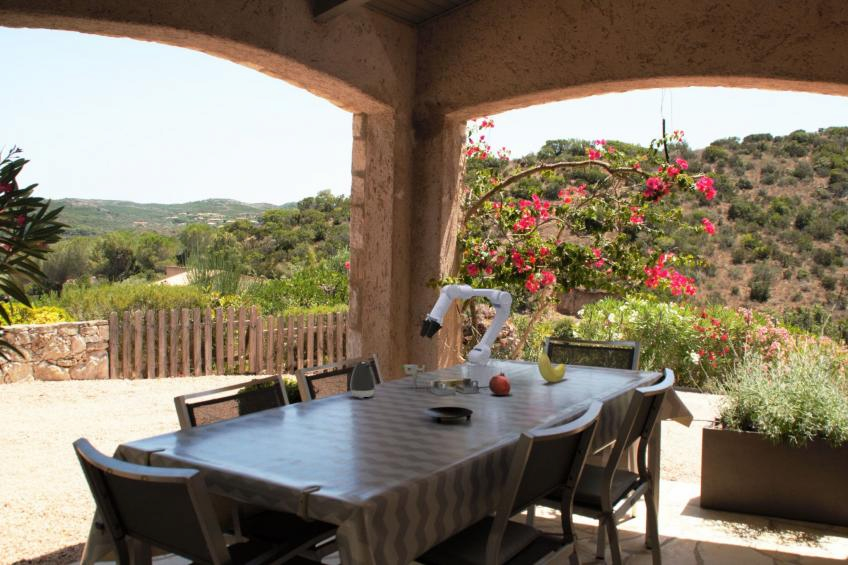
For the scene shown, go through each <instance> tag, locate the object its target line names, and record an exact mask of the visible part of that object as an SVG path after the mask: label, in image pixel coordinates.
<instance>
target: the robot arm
mask: <svg viewBox="0 0 848 565" xmlns="http://www.w3.org/2000/svg"><path fill="white" fill-rule="evenodd" d="M440 293H441V294H440V296H439V298H438V299H437V301H436V302H435V305H434V307H433V309H432V310H431V312H430V313H427V314H426V316H427V317H426V318H425V319H424V318H423V319H422V320H421V321H422V324H421V328H420V333H419V336H420V337H422V338H425V337H426V338H428V339H430V340H431V339H432V338H433V336H434V335H436V334H437V332H438V331H440V330H441V329H443V326H442V324H443V322H444V320H443V319H444V317H445V315H446V313H447V312H448V310H449V308H450V306H451V304H452V303H453V301H454V300H455V299H462V300H463V299H464V300H465V299H466V300H470V299H471V298H472V297H485V298H486V299H487V300H489V301H490V304H491V305H492V306H493V308H494V309H495V312H496V314H495V315H494V317H493V319H492V320H491V322H490V324H489V326H488V328H487V330H486V331H485V333H484V335H483V337H482V338H481V340H480V342H479V343H478V344H476V345H475V346H473V349H471V350H470V351H469V352H468V354H467V360H468V362H469V363H470V364H469V366H470V367H469V369H470V372H469V373H470V374H469V376H470V377H469V378H471V381H473V380H476V381H478V387H479V388H482V387H483V388H485V387H486V388H487V387H489V382H490V380H491V378H492V377H493V369H492V366H491V365H488V363H489V362H490V357H491V355H492V352H491V351H492V350H491V349H492V346H493V345H494V343H495V341H496V339H497V337H498V336H499V334H500V333H501V330H502V329H503V327H504V326H505V324H506V322H507V321H508V319H509V317H510V314H511V305H512V303H513V299H512V298H513V297H512V295H511V293H509V292H508V291H502V290H500V289H499V290H498V289H493V288H473V287H472V286H471V285H469V284H466V283H465V284H463V285H458V284H457V283H456V284H454V285H453V284H447V285H444V286H443V287H441V290H440Z"/></svg>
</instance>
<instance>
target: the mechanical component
mask: <svg viewBox="0 0 848 565" xmlns="http://www.w3.org/2000/svg"><path fill="white" fill-rule="evenodd" d="M409 368H410V370H409ZM402 370H404V373H405V374H406V375H411V378H412V388H413V389H417V380H418V375H423V374H424V373H425V370H427V365H424V364H422V367H421V368H420V367H419V364H404V365H402ZM419 371H422V372H419Z"/></svg>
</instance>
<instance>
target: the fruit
mask: <svg viewBox="0 0 848 565" xmlns="http://www.w3.org/2000/svg"><path fill="white" fill-rule="evenodd" d="M488 388H489V390H490V392H492V393H493V396H494V395H495V396H503V395H504V396H506V395H508V394H509V393H510V391H511V381H510V379H509V378H508V377H506V374H505V372H503V371H501V372H500V374H498V375H494V376H492V378H491V380H490V382H489V386H488Z"/></svg>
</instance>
